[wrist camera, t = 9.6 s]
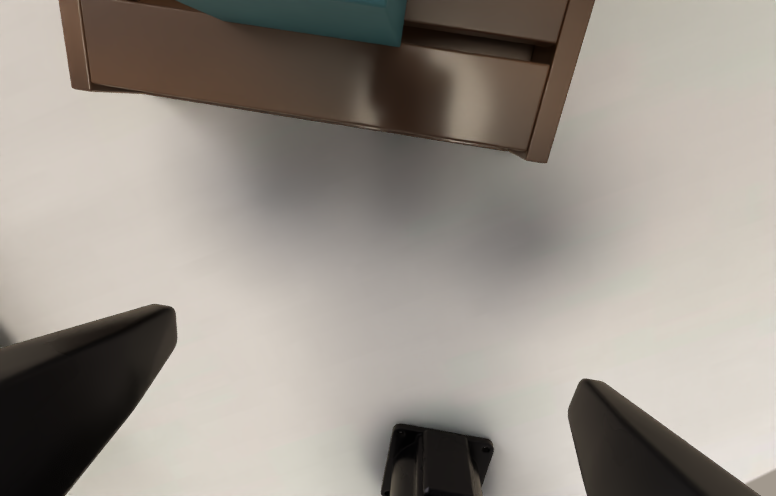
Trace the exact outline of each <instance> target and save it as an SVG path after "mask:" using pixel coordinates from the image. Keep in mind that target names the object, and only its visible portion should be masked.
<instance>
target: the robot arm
mask: <svg viewBox="0 0 776 496" xmlns="http://www.w3.org/2000/svg"><path fill="white" fill-rule="evenodd" d="M176 343H177V326H176V313H175V310H174V309H173V308H172V307H170V306H165V305H159V304H151V305H148V306H144V307H141V308H137V309H134V310H130V311H127V312H123V313H120V314H117V315H113V316H110V317H106V318H103V319H99V320H96V321H92V322H89V323H85V324H82V325H79V326H75V327H72V328H68V329H65V330H61V331H58V332H54V333H51V334H47V335H44V336H41V337H37V338H34V339H30V340H27V341H23V342H20V343H16V344H13V345H10V346H6V347H3V348H0V496H65V495H66V494H67V493H68V491H69V490H70V489H71V488H72V487H73V485H74V484H75V483H76V482H77V480H78V479H79V478H80V477H81V475H82V474H83V473H84V472H85V470H86V469H87V468H88V467H89V465H90V464H91V463H92V462H93V460H94V459H95V458H96V457H97V455H98V454H99V453H100V452H101V450H102V449H103V448H104V447H105V445H106V444H107V443H108V442H109V440H110V439H111V438H112V437H113V436H114V434H115V433H116V432H117V431H118V429H119V428H120V427H121V426H122V424H123V423H124V422H125V421H126V419H127V418H128V417H129V415H130V414H131V413H132V411H133V410H134V409H135V407H136V406H137V405H138V403H139V402H140V400H141V399H142V397H143V396H144V394H145V393H146V391H147V390H148V388H149V387H150V385H151V384H152V382H153V381H154V379H155V378H156V376H157V374H158V373H159V371H160V370H161V368H162V367H163V365H164V364H165V362H166V361H167V359H168V358H169V356H170V355H171V353H172V352H173V350H174V348H175V346H176ZM568 419H569V424H570V428H571V432H572V436H573V441H574V445H575V449H576V453H577V457H578V462H579V466H580V470H581V474H582V479H583V482H584V486H585V490H586V493H587V496H760V495H759V494H758V493H756V492H755V491H754V490H752V489H751V488H749V487H748V486H747V485H745V484H744V483H743V482H741V481H740V480H738V479H737V478H736V477H734V476H733V475H731V474H730V473H729V472H727V471H726V470H725V469H723V468H722V467H720V466H719V465H718V464H716V463H715V462H714V461H712V460H711V459H709V458H708V457H707V456H705V455H704V454H702V453H701V452H700V451H698V450H697V449H696V448H694V447H693V446H691V445H690V444H689V443H687V442H686V441H685V440H683V439H682V438H680V437H679V436H678V435H676V434H675V433H673V432H672V431H671V430H669V429H668V428H667V427H665V426H664V425H662V424H661V423H660V422H658V421H657V420H656V419H654V418H653V417H651V416H650V415H649V414H647V413H646V412H644V411H643V410H642V409H640V408H639V407H638V406H636V405H635V404H633V403H632V402H631V401H629V400H628V399H627V398H625V397H624V396H622V395H621V394H620V393H618V392H617V391H615V390H614V389H613V388H611V387H610V386H609V385H607V384H606V383H604V382H602V381H597V380H592V379H582V380H581V381H580V382H579V384H578V386H577V389H576V391H575V393H574V396H573V398H572V401H571V403H570V405H569V409H568ZM493 452H494V448H493V443H492V441H490V440H489V439H485V438H479V437H474V436H468V435H462V434H457V433H451V432H446V431H440V430H434V429H429V428H423V427H418V426H412V425H406V424H396V425H395V426H394V427H393V431H392V436H391V442H390V447H389V452H388V457H387V462H386V467H385V472H384V477H383V482H382V487H381V495H382V496H482V490H481V487H482V484H483V481H484V478H485V475H486V472H487V469H488V466H489V463H490V460H491V458H492V455H493Z"/></svg>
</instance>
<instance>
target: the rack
mask: <svg viewBox="0 0 776 496" xmlns="http://www.w3.org/2000/svg"><path fill="white" fill-rule="evenodd" d="M594 2H595V0H407V2H406V9H405V17H404V24H403V31H402V38H401V45H400V47H394V46H387V45H381V44H374V43H367V42H361V41H354V40H347V39H340V38H334V37H327V36H320V35H314V34H307V33H300V32H294V31H287V30H280V29H274V28H267V27H260V26H254V25H247V24H240V23H234V22H227V21H222V20H220V19H218V18H215V17H213V16H211V15H208V14H206V13H204V12H201V11H199V10H197V9H194V8H192V7H190V6H187V5H185V4H183V3H180V2H178V1H176V0H59V6H60V13H61V19H62V26H63V33H64V39H65V46H66V52H67V59H68V66H69V72H70V79H71V86H72V88H74V89H77V90H84V91H90V92H109V93H132V94H146V95H153V96H159V97H166V98H172V99H178V100H185V101H191V102H197V103H204V104H210V105H216V106H223V107H229V108H235V109H242V110H248V111H254V112H261V113H267V114H273V115H280V116H286V117H292V118H299V119H305V120H311V121H318V122H324V123H330V124H337V125H343V126H349V127H356V128H362V129H368V130H375V131H381V132H387V133H394V134H400V135H406V136H413V137H419V138H425V139H432V140H438V141H444V142H451V143H457V144H463V145H470V146H476V147H483V148H489V149H495V150H502V151H509V152H511V153H513V154H515V155H517V156H518V157H520V158H522V159H524V160H526V161H532V162H538V163H547V161H548V157H549V154H550V151H551V147H552V144H553V141H554V137H555V134H556V130H557V127H558V124H559V120H560V117H561V114H562V110H563V107H564V103H565V100H566V97H567V93H568V90H569V86H570V83H571V80H572V76H573V73H574V70H575V66H576V63H577V59H578V56H579V53H580V49H581V46H582V42H583V39H584V36H585V32H586V29H587V26H588V22H589V19H590V15H591V12H592V9H593V5H594Z"/></svg>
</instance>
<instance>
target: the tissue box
mask: <svg viewBox="0 0 776 496" xmlns="http://www.w3.org/2000/svg"><path fill="white" fill-rule="evenodd" d="M176 1H178V2H180V3H183V4H185V5H187V6H190V7H192V8H194V9H197V10H199V11H201V12H204V13H206V14H208V15H211V16H213V17H215V18H218V19H220V20H222V21H227V22H234V23H240V24H247V25H254V26H260V27H267V28H274V29H280V30H287V31H294V32H300V33H307V34H314V35H320V36H327V37H334V38H340V39H347V40H354V41H361V42H367V43H374V44H381V45H387V46H394V47H400V45H401V38H402V31H403V24H404V17H405V9H406V2H407V0H176Z"/></svg>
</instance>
